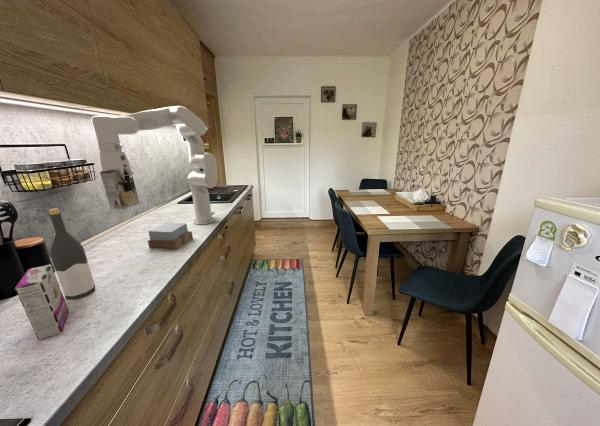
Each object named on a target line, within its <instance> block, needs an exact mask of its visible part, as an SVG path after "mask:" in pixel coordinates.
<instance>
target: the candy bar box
mask: <svg viewBox="0 0 600 426" xmlns="http://www.w3.org/2000/svg"><path fill="white" fill-rule="evenodd" d="M52 265H53V264H50V263H49V264H45V265H41V266H37V267H32V268H28V269H27V271H26V272H25V273H24V275H23V276H22V278H21V279H20V280H19V282H18V283H17V285H16V286H15V288H14V290H15V292H16V294H17V296H18V299H19V300H20V303H21V305H22V307H23V309H24V311H25V314H26V316H27V318H28V320H29V322H30V325H31V327H32V329H33V331H34V333H35V335H36V338H37V340H38V341H43V340H46V339H49V338H51V337H54V336H57V335H60V334H63V331H64V329H65V326H66V325H65V324H66V322H67V319H68V315H69V311H70V310H69V307H68V305H67V304H68V303H67V302H66V300H65V299H66V298H65V296H64V295H63V294H64V293H63V290H62V288H61V287H60V286H61V285H60V284H59V280H58V279H57V278H58V277H57V276H56V273H55V271H54V267H53V266H52Z"/></svg>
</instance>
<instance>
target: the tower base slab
mask: <svg viewBox="0 0 600 426" xmlns="http://www.w3.org/2000/svg"><path fill="white" fill-rule="evenodd" d="M193 239H194V236H193V231H189V230H188V232H186V233H185V234H183V235H182V236H180V237H178V238H177V239H175V240H174V241H164V240H150V239H148V240H147V243H148V248H149V249H154V250H155V249H156V250H169V251H170V250H171V251H175V250H177V249H179V248H181V247H183V246H184V245H186V244H187V243H188V242H190V241H192V240H193Z"/></svg>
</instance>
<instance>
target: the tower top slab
mask: <svg viewBox="0 0 600 426" xmlns="http://www.w3.org/2000/svg"><path fill="white" fill-rule="evenodd" d="M187 225H188V224H187V223H185V222H184V223H183V222H164V223H162V224H160V225H158V226H156V227H153V228H152V229H150V230H148V235H149V240H164V241H174V240H175V239H177V238H178V237H180V236H182V235H183V234H185V233H186V232H188V231H189V230H188V226H187Z"/></svg>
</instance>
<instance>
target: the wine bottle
mask: <svg viewBox="0 0 600 426" xmlns="http://www.w3.org/2000/svg"><path fill="white" fill-rule="evenodd" d="M59 210H60V209H59V208H58V207H57V208H51V209H50V208H49V209H48V212H49V215H48V216H49V217H50V220H51V222H52V226H53V229H54V232H55V236H54V239H53V241H52V243H51V250H50V259H51V261H52V265H53V268H54V270H55V272H56V273H55V274H57V276H56V277H57V278H58V282H59V283H60V284H59V285H60V286H61V287H60V288H61V290H62V293H63V294H64V295H63V296H64V299H66V300H69V301H76V300H79V299H80V300H81V299H83V298H86V297H88V296H89V295H91V294H93V293H94V292H96V284H95V283H96V282H95V280H94V277H93V274H92V271H91V267H90V265H89V261H88V258H87V255H86V250H85V248H84V246H83V245H82V244H81V242H80V241H79V240H78V239H77V238H76V236H73V235H72V234H71V233H70V232H68V230H67V228H66V226H65V223H64V219H63V217H62V212H60V211H59Z"/></svg>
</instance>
